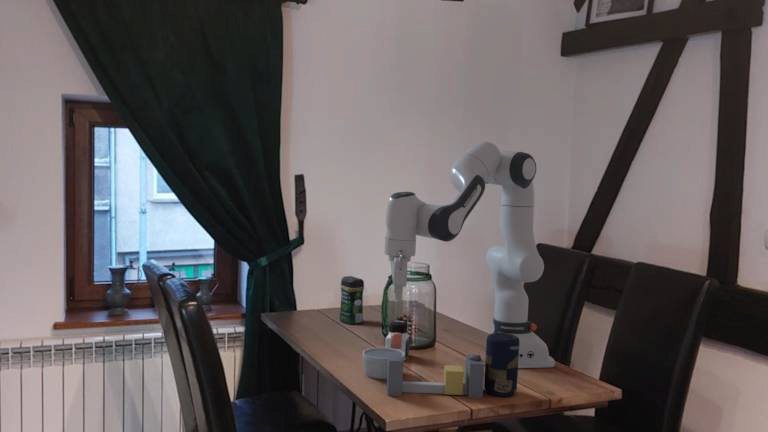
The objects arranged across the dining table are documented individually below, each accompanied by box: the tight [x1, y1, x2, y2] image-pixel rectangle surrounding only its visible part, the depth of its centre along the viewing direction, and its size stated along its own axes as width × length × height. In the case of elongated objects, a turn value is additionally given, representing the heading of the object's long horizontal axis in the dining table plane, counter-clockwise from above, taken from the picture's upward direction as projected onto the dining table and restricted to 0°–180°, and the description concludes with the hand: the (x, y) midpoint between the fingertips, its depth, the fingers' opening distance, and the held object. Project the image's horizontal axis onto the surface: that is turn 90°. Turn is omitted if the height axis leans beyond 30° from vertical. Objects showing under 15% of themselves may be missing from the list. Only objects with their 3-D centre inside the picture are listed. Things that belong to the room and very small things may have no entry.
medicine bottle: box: [384, 320, 411, 361], centre depth 240 cm, size 7×7×12 cm
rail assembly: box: [386, 352, 485, 399], centre depth 205 cm, size 27×9×11 cm, turn 91°
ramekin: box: [362, 347, 405, 380], centre depth 220 cm, size 13×13×7 cm
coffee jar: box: [339, 275, 365, 325], centre depth 287 cm, size 10×8×19 cm
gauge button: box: [391, 332, 402, 349], centre depth 204 cm, size 3×3×4 cm
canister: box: [483, 332, 520, 397], centre depth 206 cm, size 10×10×18 cm
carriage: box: [442, 365, 465, 396], centre depth 205 cm, size 5×6×7 cm
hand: (397, 296), depth 203 cm, fingers open, 7 cm apart
